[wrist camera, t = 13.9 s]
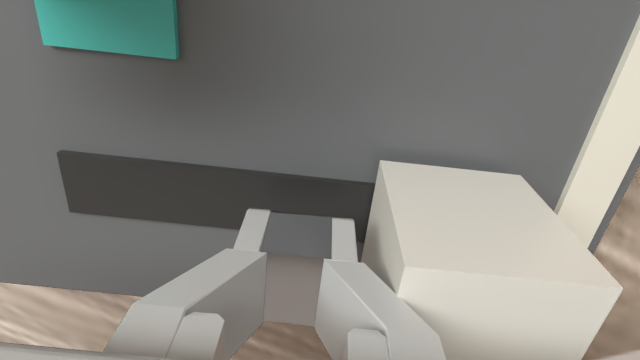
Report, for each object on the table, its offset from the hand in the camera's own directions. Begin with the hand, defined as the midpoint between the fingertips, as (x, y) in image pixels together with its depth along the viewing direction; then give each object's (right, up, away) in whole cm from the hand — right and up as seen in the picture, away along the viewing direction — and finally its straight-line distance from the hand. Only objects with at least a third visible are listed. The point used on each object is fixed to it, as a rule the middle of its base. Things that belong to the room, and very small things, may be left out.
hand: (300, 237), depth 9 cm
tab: (+4, 0, +1) cm, 4 cm away
